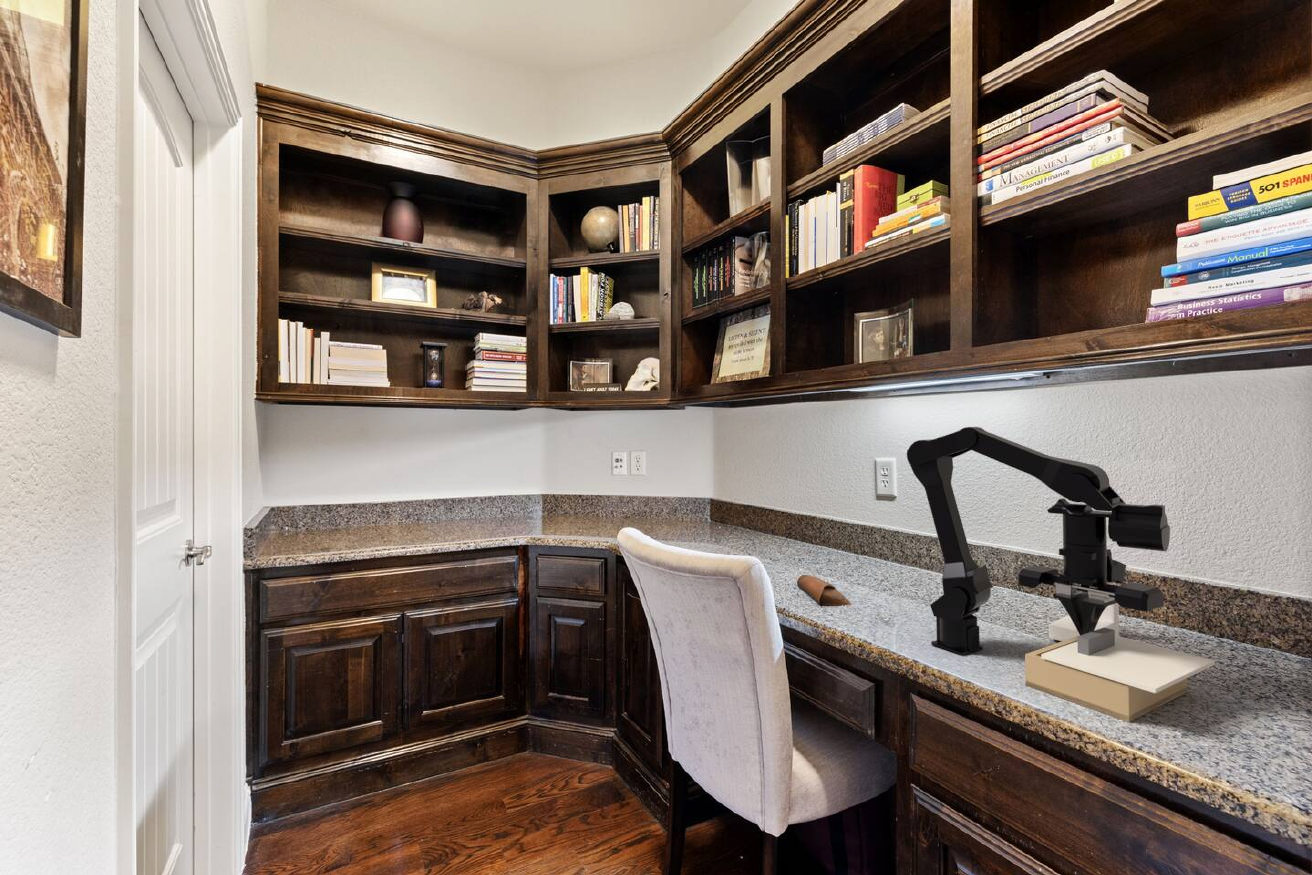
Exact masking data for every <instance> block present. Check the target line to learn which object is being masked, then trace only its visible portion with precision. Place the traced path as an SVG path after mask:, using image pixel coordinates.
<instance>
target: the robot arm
mask: <svg viewBox="0 0 1312 875" xmlns="http://www.w3.org/2000/svg"><path fill="white" fill-rule="evenodd" d="M971 451H973V452H976V453H978V454H980V455H982V456H985V457H987V458H989V459H992V460H994V461H997V462H999V463H1001V464H1004V465H1006V466H1009V467H1010V468H1013V469H1015V470H1018V471H1021V472H1023V473H1025V474H1028V475H1030V476H1032V477H1034V478H1035V479H1037V480H1038V481H1040V482H1041V483H1043V484H1044V485H1045V486H1046V487H1048V488H1049V489H1050V490H1052V491H1053V492H1055V493H1057V494H1058V495H1060V496H1061V497H1063V498H1059V499H1058V500H1057V501H1056V503H1054V505H1052V506H1051V507H1049V508H1048V509H1047V513H1049V514H1059V515H1062V547H1061V548H1058V555H1059V556H1063V573H1060V572H1059V571H1058V569H1057V568H1054V567H1047V566H1043V565H1033V566H1032V565H1031V566H1028V567H1022V568H1021V569H1020V570H1019V572H1018V573H1017V585H1018V586H1022V587H1026V588H1030V589H1037V588H1038V587H1040V586H1041V585H1042V584H1043V585H1048V586H1054V587H1055V592H1054V593H1053V594H1052V596H1053V598H1055V599H1058V601H1059V602H1060V603H1061V606H1062V607H1063V608H1064V610H1065V611H1066V612H1067V614H1068V615H1069V616H1070V617H1071V619H1072V621H1073V623H1074V625H1075V627H1076V629H1077V631H1078V632H1079V634H1080V636H1081V635H1084V634H1086V633H1089V632H1092V631H1094V630H1095V627H1096V625H1097V623H1098V620H1099V618H1100V616H1101V614H1102V613H1103V611H1104V610H1105V608H1106V607H1107V606H1109V605H1112V604H1116V603H1118V605H1119V607H1121V608H1126V609H1130V610H1134V611H1139V612H1149V611H1152V610H1155V609H1157V608H1161V607H1164V601H1165V600H1164V593H1163V592H1162V591H1161V589H1160V588H1159V587H1158V586H1155V585H1151V584H1150V585H1149V584H1144V583H1143V584H1142V583H1138V582H1133V581H1131V582H1128V583H1125V584H1124V581H1125V578H1126V577H1125V576H1126V569H1127V565H1126V564H1124V563H1123V562H1121V561H1119V560H1116V559H1113V556H1112V555H1113V554H1112V550H1111V549H1108V546H1107V545H1108V543H1107V534H1108V537H1109V540H1112V541H1111V542H1116V545H1117V546H1118V547H1120V548H1128V549H1129V548H1130V549H1136V550H1138V549H1139V550H1148V551H1156V552H1157V551H1158V552H1167V551H1168V549H1169V546H1170V540H1171V538H1170V537H1171V528H1170V527H1171V526H1170V525H1169V522H1168V516H1167V514H1166V506H1165V505H1164V504H1149V505H1147V504H1146V505H1144V504H1130V503H1129V504H1128V503H1126V502H1125V501H1124V500H1123V498H1121V496H1120V495H1119V494H1118V493H1117V491H1115V490H1114V488H1113V487H1112V486H1111V485H1110V479H1109V478H1110V477H1108V474H1107V472H1106V471H1105V470H1104V469H1103V468H1101V467H1099V466H1098V465H1095V464H1091V463H1087V462H1082V461H1077V460H1073V459H1066V458H1061V457H1057V456H1052V455H1051V456H1050V455H1047V454H1046V453H1043V452H1040V451H1038V450H1036V449H1033V448H1029V447H1027V446H1025V445H1022V444H1020V443H1017V442H1015V441H1012V440H1009V439H1006V438H1004V437H1002V436H999V435H996V434H995V433H992V432H989V431H987V430H985V429H983V427H979V426H968V427H962V428H961V429H959V430H957V431H955V432H951V433H948V434H945V435H942V436H940V437H936V438H931V439H920V440H915V441H914V442H913V443H911V444H910V445H909V448H908V449H907V451H906V459H907V462H908V464H909V466H910V468H911V471H912V473H913V475H914V476H915V478H916V479H917V480H918V481H919V482H920V484H921V485H922V486H923V488H924V490H925V493H926V494H925V495H926V498H927V502H928V506H929V509H930V514H931V517H932V520H933V524H934V528H935V531H936V532H935V533H936V536H937V539H938V542H939V546H940V550H941V555H942V557H943V562H944V564H943V570H942V572H943V573H942V576H941V577H942V579H941V581H942V592H943V594H942V595H941V596H940V597H939V598H938V599H936V600H935V601H933V602H932V603H931V604H930V606H929V607H930V608H931V611H932V615H933V616H934V617H935V620H936V621H935V622H936V628H935V629H936V640H933V641H931V642H930V644H931V645H932V646H934V647H936V648H940V649H944V650H945V651H948V652H951V653H954V654H958V655H960V656H961V655H962V656H963V655H967V654H969V653H973V652H976V651H980V650H982V649H983V648H984V646H983V645H982V644H980V642H981V641H980V640H981V639H980V626H979V625H978V617H977V616H975V615H974V614H975V613H978V612H979V611H980V609H981V606H983V605H985V604H987V602H988V601H989V599H990V597H991V595H992V594H991V589H993V588H994V585H993V584H992V583H991V581H990V578H989V571H988V567H987V565H982V566H979V565H978V564H977V563H976V561H975V560H974V559H973V557H972V555H971V550H970V548H969V544H968V540H967V536H966V532H965V530H964V526H963V522H962V518H961V515H960V511H959V507H958V504H957V501H956V497H955V493H954V489H953V485H952V480H953V479H952V477H953V471H954V462H953V459H954V458H956V457H959V456H961V455H964V454H967V453H968V452H971ZM1067 500H1068V501H1067ZM1069 501H1071V502H1074V503H1071V502H1069ZM1082 503H1083V504H1082ZM1107 518H1108V521H1107ZM1107 522H1108V524H1107ZM1108 583H1115V584H1121V585H1115V584H1108Z"/></svg>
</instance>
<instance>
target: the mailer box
mask: <svg viewBox="0 0 1312 875" xmlns="http://www.w3.org/2000/svg"><path fill="white" fill-rule="evenodd" d="M1079 636H1080V635H1079ZM1077 637H1078V636H1076V637H1073V638H1071V639H1068V640H1065V641H1059V642H1057V643H1054V644H1051V645H1047V646H1045V647H1043V648H1040V649H1037V650H1034V651H1030V652H1028V653H1025V654H1024V656H1025V658H1024V662H1025V663H1024V665H1025V666H1024V669H1025V671H1024V672H1025V673H1024V674H1025V676H1024V677H1025V686H1026V687H1029V688H1032V689H1035V690H1036V691H1040V692H1044V693H1046V694H1048V695H1052V696H1055V697H1057V698H1059V699H1062V700H1066V701H1068V702H1070V703H1074V704H1077V705H1080V706H1082V707H1084V708H1089V709H1091V710H1094V711H1095V712H1096V711H1097V712H1099V713H1101V714H1105V715H1107V716H1110V717H1113V718H1117V719H1119V720H1121V721H1124V722H1127V723H1130V722H1132V721H1134V720H1136V719H1138V718H1140V717H1142V716H1144V715H1145V714H1147V713H1149V712H1151V711H1153V710H1155V709H1157V708H1160V707H1161V706H1163V705H1165V704H1167V703H1169V702H1171V701H1173V700H1175V699H1177V698H1179V697H1180V696H1183V695H1184V694H1187V693H1188V678H1186V679H1184V680H1182V681H1180V682H1178V683H1176V684H1174V685H1172V686H1170V687H1168V688H1166V689H1164V690H1162V691H1160V692H1158V693H1153V692H1149V691H1146V690H1143V689H1140V688H1136V687H1133V686H1130V685H1127V684H1123V683H1120V682H1117V681H1114V680H1110V679H1107V678H1104V677H1101V676H1098V675H1094V674H1091V673H1088V672H1085V671H1081V670H1078V669H1075V668H1072V667H1068V666H1065V665H1062V664H1059V663H1056V662H1052V661H1049V660H1046V659H1043V658H1041V654H1043V653H1046V652H1049V651H1052V650H1055V649H1057V648H1060V647H1063V646H1066V645H1069V644H1072V643H1074V642H1077V641H1078V638H1077Z"/></svg>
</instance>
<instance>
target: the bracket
mask: <svg viewBox="0 0 1312 875" xmlns="http://www.w3.org/2000/svg"><path fill="white" fill-rule="evenodd" d="M1119 607H1120V605H1119V604H1118V603H1116V604H1112V605H1109V606H1107V607H1106V608H1105V610H1104V611H1103V613H1102V614H1101V616H1100V618H1099V620H1098V623H1097V625H1096V627H1095V630H1098V629H1101V628H1108V629H1113V630H1115V635H1116V636H1120V622H1119V620H1120V616H1119V615H1120V613H1119V610H1120V609H1119ZM1095 630H1094V631H1095ZM1079 635H1080V634H1079V632H1078V631H1077V629H1076V627H1075V625H1074V623H1073V621H1072V619H1071V617H1070V616H1069V614H1068V615H1066V616H1063V617H1061V618H1059V619H1058V620H1057V619H1056V620H1055V621H1053V622H1051V623H1049V624H1048V639H1052V640H1056V641H1059V642H1062V641H1065V640H1068V639H1071V638H1073V637H1076V636H1079Z"/></svg>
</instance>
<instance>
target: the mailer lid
mask: <svg viewBox="0 0 1312 875" xmlns="http://www.w3.org/2000/svg"><path fill="white" fill-rule="evenodd" d="M1077 638H1078V641H1077V642H1074V643H1072V644H1069V645H1066V646H1063V647H1060V648H1057V649H1055V650H1052V651H1049V652H1046V653H1043V654H1041V658H1043V659H1046V660H1049V661H1052V662H1056V663H1059V664H1062V665H1065V666H1068V667H1072V668H1075V669H1078V670H1081V671H1085V672H1088V673H1091V674H1094V675H1098V676H1101V677H1104V678H1107V679H1110V680H1114V681H1117V682H1120V683H1123V684H1127V685H1130V686H1133V687H1136V688H1140V689H1143V690H1146V691H1149V692H1153V693H1158V692H1160V691H1162V690H1164V689H1166V688H1168V687H1170V686H1172V685H1174V684H1176V683H1178V682H1180V681H1182V680H1184V679H1186V678H1187V679H1188V678H1189V677H1192V676H1194V675H1196V674H1198V673H1200V672H1202V671H1204V670H1206V669H1208V668H1211V667H1212V666H1214V665H1216V661H1215V659H1210V658H1207V657H1203V656H1199V655H1195V654H1191V653H1187V652H1182V651H1181V650H1180V651H1179V650H1175V649H1171V648H1167V647H1163V646H1159V645H1156V644H1151V643H1147V642H1144V641H1139V640H1135V639H1132V638H1128V637H1124V636H1123V637H1122V636H1120V635H1119V636H1116V635H1115V630H1113V629H1108V628H1101V629H1098V630H1095V631H1092V632H1089V633H1086V634H1084V635H1081V636H1078V637H1077Z"/></svg>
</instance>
